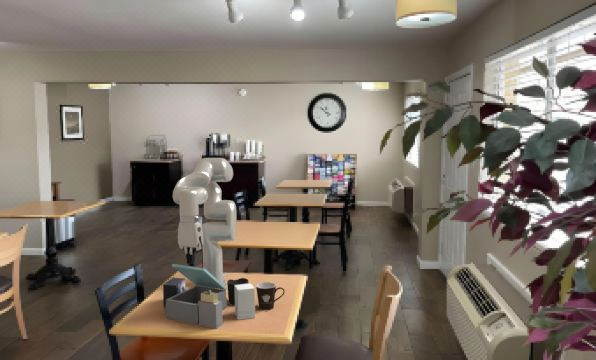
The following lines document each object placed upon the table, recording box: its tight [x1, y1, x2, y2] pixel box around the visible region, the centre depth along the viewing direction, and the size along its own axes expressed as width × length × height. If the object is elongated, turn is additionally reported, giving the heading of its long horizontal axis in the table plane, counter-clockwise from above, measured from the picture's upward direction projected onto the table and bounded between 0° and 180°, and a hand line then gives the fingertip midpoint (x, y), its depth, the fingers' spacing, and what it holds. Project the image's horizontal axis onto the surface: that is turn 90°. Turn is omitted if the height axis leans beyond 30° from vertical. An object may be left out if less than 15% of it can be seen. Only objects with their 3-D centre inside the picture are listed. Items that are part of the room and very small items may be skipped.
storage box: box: [165, 285, 227, 329], centre depth 207 cm, size 20×25×10 cm
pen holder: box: [226, 277, 249, 307], centre depth 221 cm, size 9×9×10 cm
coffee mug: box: [255, 281, 286, 311], centre depth 214 cm, size 12×9×10 cm
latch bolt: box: [201, 290, 218, 303], centre depth 196 cm, size 3×6×4 cm, turn 64°
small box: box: [162, 276, 187, 308], centre depth 221 cm, size 11×6×10 cm, turn 168°
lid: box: [171, 263, 228, 291], centre depth 210 cm, size 20×16×1 cm
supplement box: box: [234, 283, 256, 320], centre depth 206 cm, size 7×7×13 cm
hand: (190, 263), depth 204 cm, fingers closed
